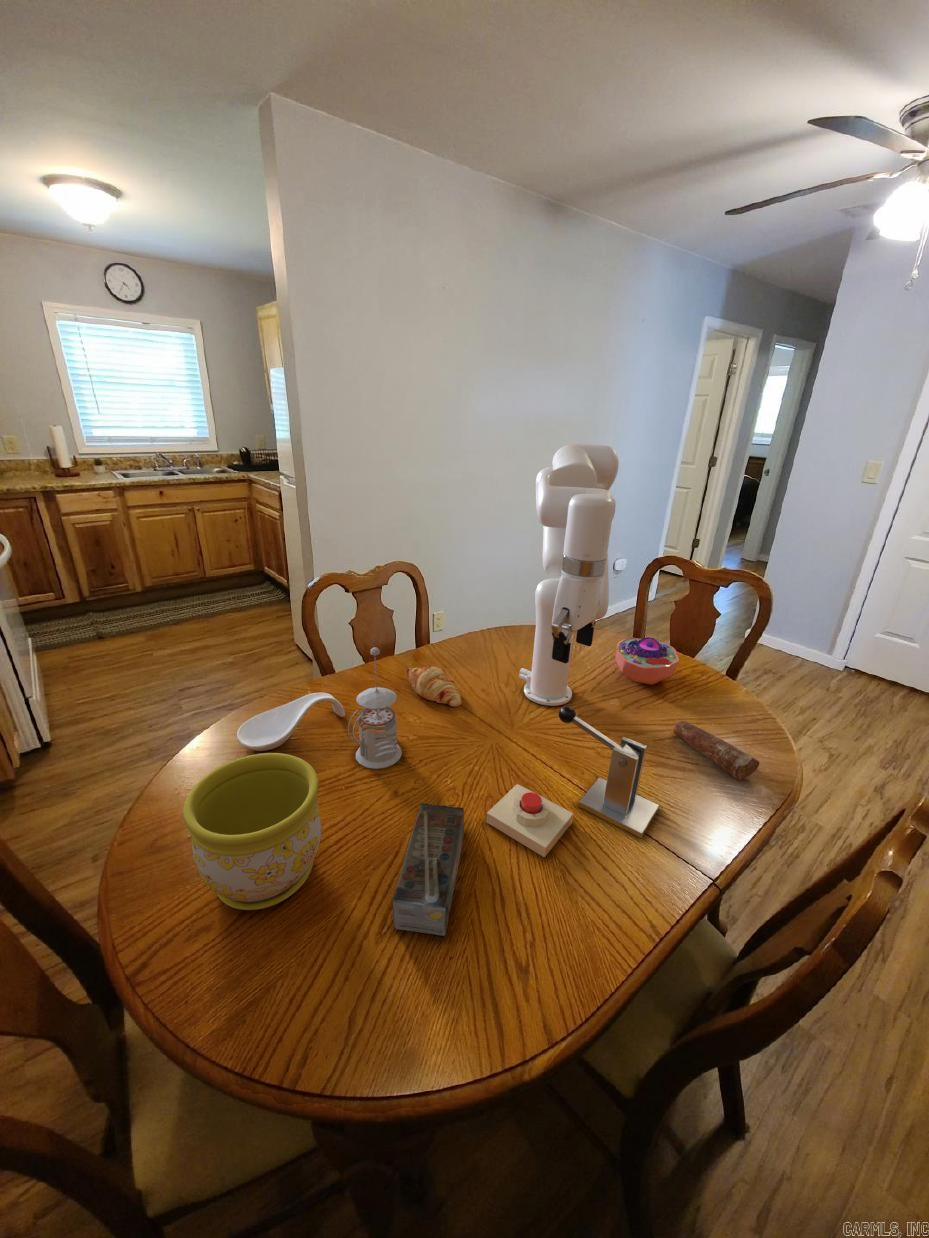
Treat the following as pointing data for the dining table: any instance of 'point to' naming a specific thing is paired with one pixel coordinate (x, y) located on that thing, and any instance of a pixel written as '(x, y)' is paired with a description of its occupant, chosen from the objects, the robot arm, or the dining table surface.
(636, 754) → the lever
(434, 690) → the croissant
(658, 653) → the cell model
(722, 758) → the salami
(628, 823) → the bracket
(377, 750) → the french press
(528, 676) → the robot arm
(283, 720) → the spoon rest
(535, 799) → the button
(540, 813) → the button block
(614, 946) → the dining table surface
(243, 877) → the flowerpot
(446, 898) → the grey printed box
